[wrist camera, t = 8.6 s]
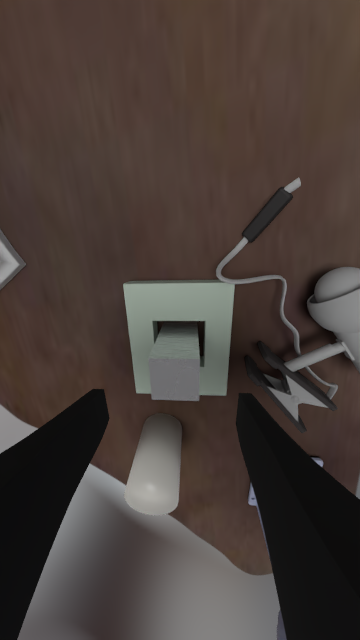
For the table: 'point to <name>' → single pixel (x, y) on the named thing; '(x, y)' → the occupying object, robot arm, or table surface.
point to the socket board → (181, 305)
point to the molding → (8, 261)
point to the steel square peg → (175, 362)
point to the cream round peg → (156, 467)
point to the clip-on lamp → (325, 308)
